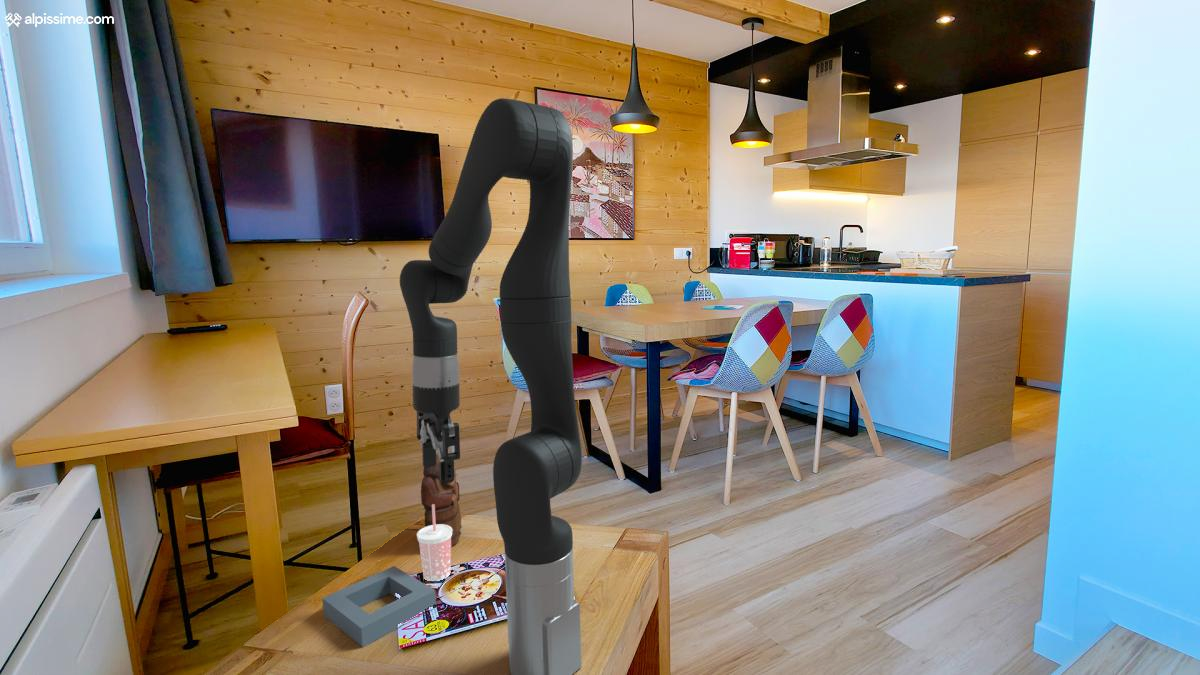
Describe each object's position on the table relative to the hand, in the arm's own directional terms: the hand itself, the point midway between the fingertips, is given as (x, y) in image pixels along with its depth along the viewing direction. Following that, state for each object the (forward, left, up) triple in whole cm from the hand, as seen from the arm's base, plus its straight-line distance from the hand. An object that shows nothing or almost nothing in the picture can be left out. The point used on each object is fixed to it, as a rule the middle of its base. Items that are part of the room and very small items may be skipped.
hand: (437, 474), depth 97 cm
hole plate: (+2, +11, -21) cm, 23 cm away
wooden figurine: (+15, -11, -21) cm, 28 cm away
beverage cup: (+3, -1, -21) cm, 21 cm away
